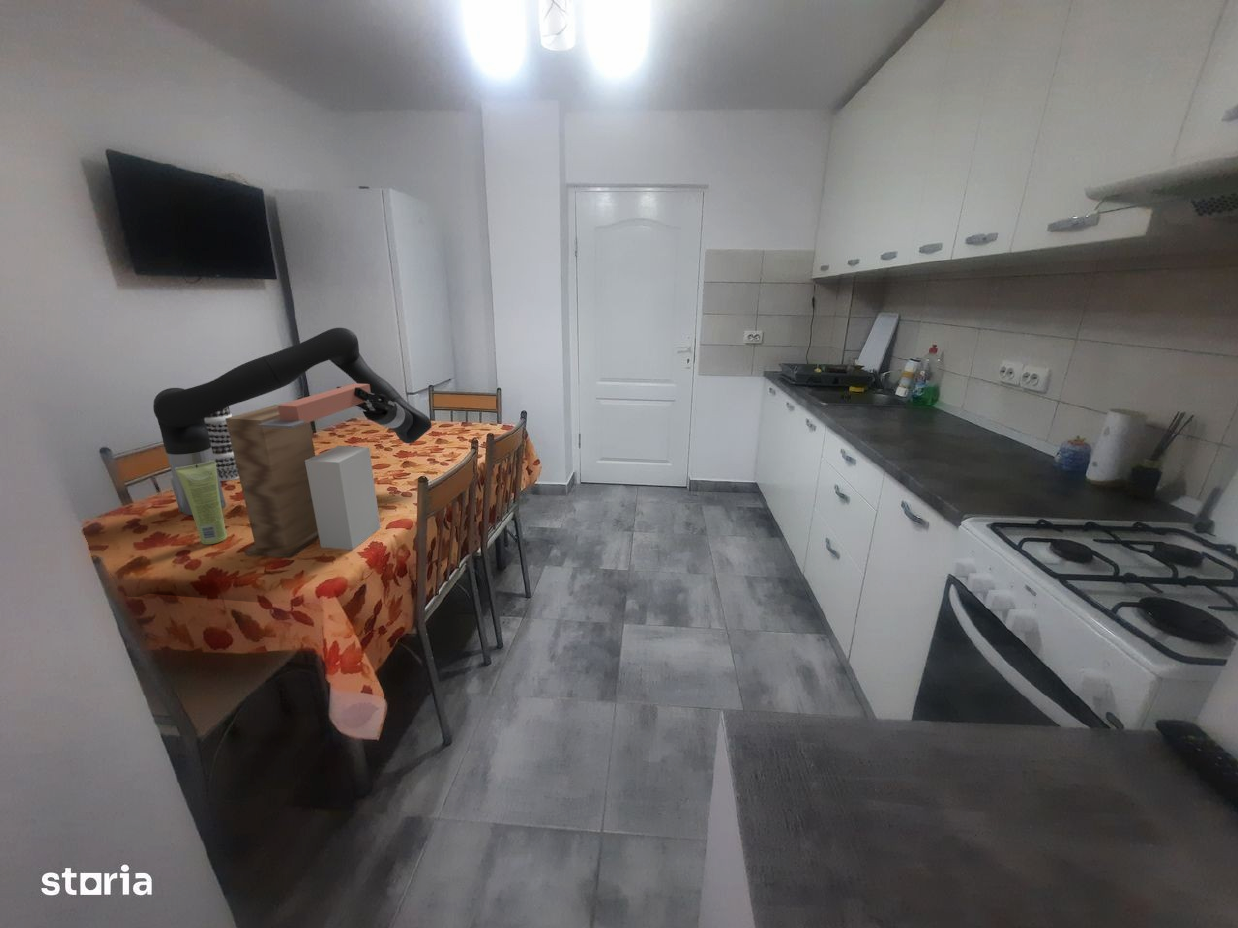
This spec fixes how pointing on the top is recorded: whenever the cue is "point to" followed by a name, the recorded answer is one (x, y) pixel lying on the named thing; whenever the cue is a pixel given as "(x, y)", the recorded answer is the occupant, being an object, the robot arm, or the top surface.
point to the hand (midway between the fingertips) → (346, 390)
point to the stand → (274, 482)
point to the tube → (204, 500)
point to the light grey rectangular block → (343, 496)
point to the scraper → (316, 406)
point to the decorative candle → (222, 444)
